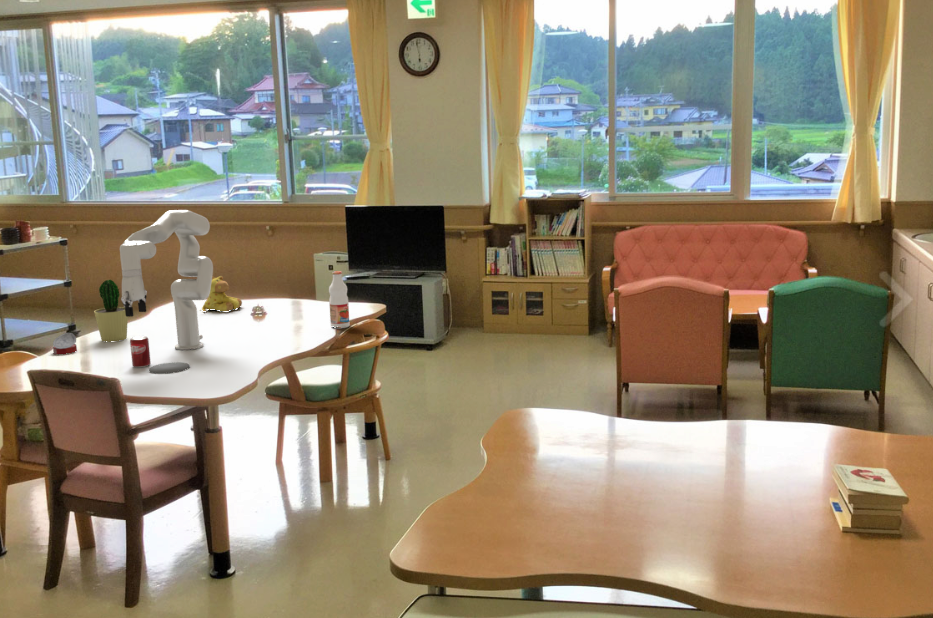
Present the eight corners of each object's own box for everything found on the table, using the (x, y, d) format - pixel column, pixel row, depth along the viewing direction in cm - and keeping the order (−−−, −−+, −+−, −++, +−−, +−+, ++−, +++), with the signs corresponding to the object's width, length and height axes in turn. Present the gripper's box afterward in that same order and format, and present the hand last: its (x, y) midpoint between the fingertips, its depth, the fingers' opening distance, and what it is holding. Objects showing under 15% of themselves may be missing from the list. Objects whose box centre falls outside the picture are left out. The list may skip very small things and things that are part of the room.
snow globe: (78, 360, 400) (85, 342, 396) (58, 363, 391) (65, 344, 388) (65, 347, 404) (71, 329, 401) (45, 349, 396) (51, 331, 392)
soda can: (144, 368, 361) (141, 340, 359) (129, 367, 362) (126, 339, 360) (154, 363, 368) (151, 336, 366) (138, 363, 369) (136, 336, 367)
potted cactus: (123, 335, 432) (117, 275, 426) (136, 339, 421) (130, 277, 415) (92, 340, 421) (85, 279, 416) (104, 344, 410) (98, 281, 405)
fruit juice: (335, 324, 441) (332, 270, 436) (352, 325, 439) (349, 270, 434) (327, 328, 432) (324, 272, 427) (345, 329, 430) (342, 273, 425)
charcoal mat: (161, 363, 368) (161, 361, 368) (196, 364, 365) (196, 362, 365) (141, 373, 352) (141, 371, 352) (177, 374, 349) (177, 372, 349)
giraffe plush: (237, 312, 486) (234, 278, 482) (194, 314, 484) (191, 280, 481) (244, 306, 506) (242, 273, 502) (203, 307, 504) (200, 275, 501)
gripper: (135, 270, 367) (139, 310, 370) (111, 276, 350) (116, 318, 353) (151, 270, 365) (155, 310, 368) (128, 276, 349) (132, 318, 352)
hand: (136, 314), depth 361 cm, fingers open, 9 cm apart
